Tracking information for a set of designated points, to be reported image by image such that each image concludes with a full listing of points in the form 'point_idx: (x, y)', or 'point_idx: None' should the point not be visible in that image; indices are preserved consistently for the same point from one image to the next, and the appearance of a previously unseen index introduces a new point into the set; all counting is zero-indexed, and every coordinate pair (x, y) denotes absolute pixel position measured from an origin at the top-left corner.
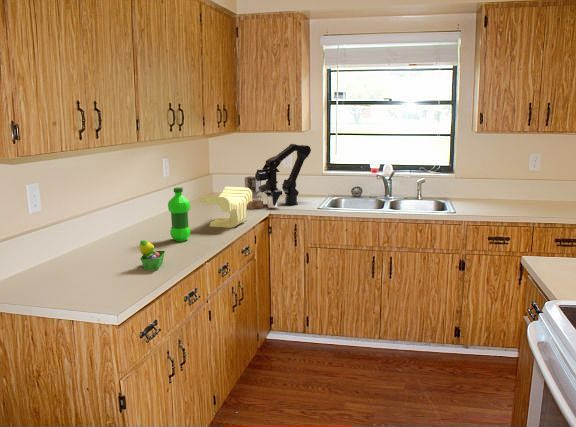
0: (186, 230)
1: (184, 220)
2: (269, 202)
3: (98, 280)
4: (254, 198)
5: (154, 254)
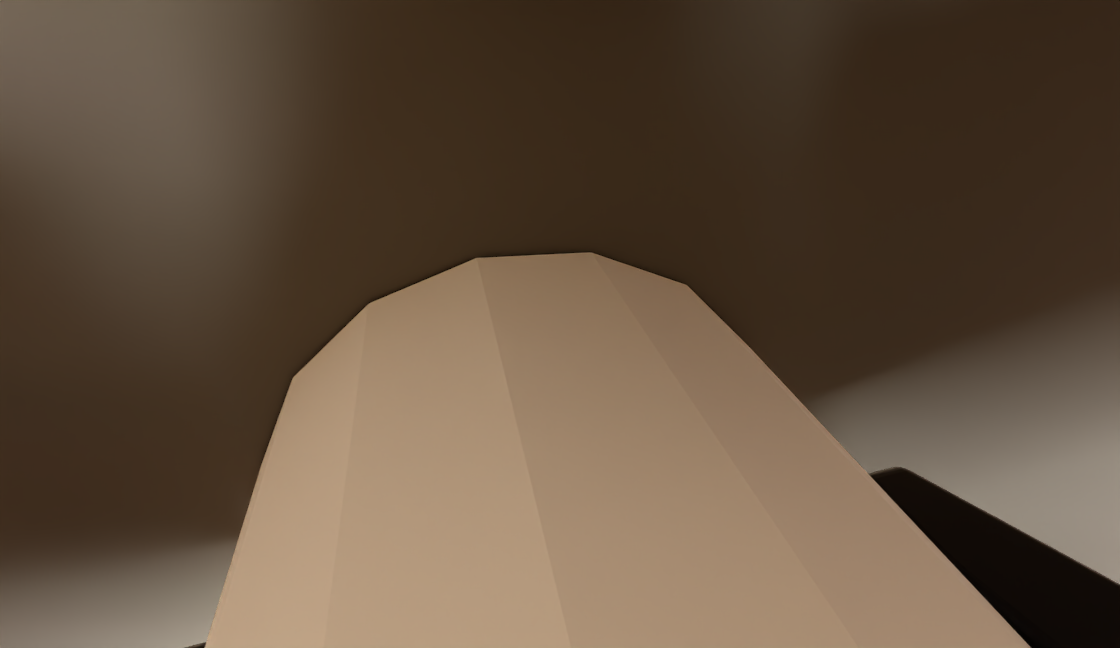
0: None
1: None
2: (274, 597)
3: None
4: None
5: None
